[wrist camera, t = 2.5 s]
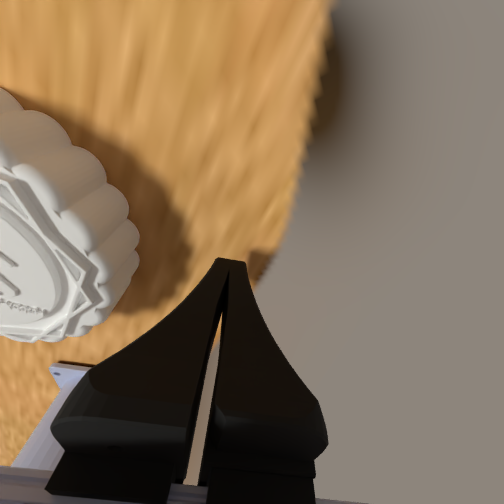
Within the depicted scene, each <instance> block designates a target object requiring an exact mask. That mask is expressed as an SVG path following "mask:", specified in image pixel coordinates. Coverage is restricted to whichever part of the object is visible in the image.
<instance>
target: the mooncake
mask: <svg viewBox="0 0 504 504" xmlns="http://www.w3.org/2000/svg"><path fill="white" fill-rule="evenodd" d="M128 214H129V205H128V202H127V199H126V198H125V196H124V195H123V194H122V192H121V191H119V190H118V189H117V188H116V187H114V186H113V185H111V184H108V183H107V176H106V172H105V169H104V167H103V165H102V164H101V162H100V161H99V160H98V159H97V158H96V157H95V156H94V155H93V154H92V153H91V152H89V151H87V150H86V149H84V148H81V147H78V146H73V145H72V143H71V140H70V138H69V136H68V134H67V132H66V131H65V130H64V128H63V127H62V126H61V125H60V124H59V123H58V122H57V121H56V120H54V119H53V118H51V117H50V116H48V115H46V114H44V113H42V112H39V111H34V110H24V109H23V107H22V106H21V105H20V103H19V102H18V101H17V100H16V99H15V98H14V97H13V96H12V95H11V94H9V93H8V92H7V91H5V90H4V89H2V88H0V335H1V336H6V337H7V338H10V339H12V340H15V341H20V342H31V343H34V342H36V341H37V340H42V341H46V342H59V341H62V340H64V339H65V338H67V336H70V337H79V336H83V335H85V334H87V333H88V332H89V331H90V330H91V329H92V328H93V326H94V325H99V324H101V323H103V322H104V321H105V320H106V319H107V318H108V316H109V315H110V313H111V312H112V310H113V309H114V307H115V306H116V304H117V303H118V301H119V300H120V298H121V297H122V295H123V294H124V292H125V291H126V289H127V287H128V286H129V284H130V282H131V277H132V275H133V274H134V272H135V271H136V269H137V268H138V266H139V263H140V258H139V255H138V253H137V252H136V251H135V248H136V246H137V245H138V243H139V240H140V235H139V231H138V229H137V228H136V226H135V225H134V224H133V223H132V222H131V221H130V220H129V219H127V217H128Z"/></svg>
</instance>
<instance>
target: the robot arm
mask: <svg viewBox="0 0 504 504" xmlns="http://www.w3.org/2000/svg"><path fill="white" fill-rule="evenodd" d="M222 310H223V311H222ZM221 314H222V323H221V336H220V349H219V359H218V367H217V372H216V378H215V385H214V391H213V396H212V402H211V408H210V414H209V420H208V426H207V432H206V438H205V444H204V450H203V456H202V461H201V468H200V473H199V479H198V485H197V486H194V485H184V484H183V481H184V479H185V478H186V474H187V468H188V463H189V458H190V453H191V448H192V442H193V437H194V432H195V427H196V421H197V416H198V410H199V405H200V400H201V395H202V390H203V385H204V380H205V375H206V370H207V364H208V360H209V356H210V352H211V349H212V345H213V342H214V338H215V335H216V331H217V328H218V324H219V321H220V317H221ZM49 370H50V372H51V374H52V376H53V377H54V379H55V381H56V382H57V384H58V386H59V387H60V389H61V390H60V392H59V393H58V395H57V396H56V398H55V399H54V401H53V402H52V404H51V406H50V407H49V409H48V410H47V412H46V413H45V415H44V416H43V418H42V419H41V421H40V422H39V424H38V425H37V427H36V428H35V430H34V431H33V433H32V434H31V436H30V437H29V439H28V440H27V442H26V444H25V445H24V447H23V448H22V450H21V451H20V453H19V454H18V456H17V457H16V459H15V460H14V462H13V463H12V465H11V466H1V465H0V504H367V503H358V502H357V503H356V502H348V501H338V500H328V499H319V498H315V492H314V484H313V479H314V478H315V477H316V473H315V472H316V471H315V464H314V460H315V459H316V458H317V457H318V456H319V455H320V454H321V453H322V452H323V451H324V450H325V449H326V447H327V446H328V435H327V430H326V425H325V422H324V418H323V415H322V412H321V408H320V405H319V402H318V400H317V399H316V398H315V396H314V395H313V394H312V393H311V392H310V390H309V389H308V388H307V387H306V385H305V384H304V383H303V381H302V380H301V379H300V378H299V376H298V375H297V374H296V372H295V371H294V369H293V368H292V367H291V365H290V364H289V362H288V361H287V359H286V358H285V356H284V355H283V353H282V351H281V350H280V348H279V347H278V345H277V344H276V342H275V340H274V338H273V337H272V335H271V333H270V331H269V330H268V327H267V325H266V323H265V321H264V319H263V317H262V315H261V313H260V310H259V308H258V305H257V303H256V300H255V298H254V295H253V292H252V289H251V285H250V282H249V278H248V274H247V268H246V263H245V262H243V261H237V260H231V259H225V258H219V257H218V258H216V259H215V261H214V263H213V265H212V266H211V268H210V269H209V271H208V272H207V274H206V275H205V276H204V277H203V279H202V280H201V281H200V282H199V284H198V285H197V286H196V287H195V288H194V290H193V291H192V292H191V293H190V294H189V295H188V296H187V297H186V298H185V299H184V300H183V301H182V302H181V303H180V304H179V305H178V306H177V307H176V308H175V309H174V310H173V311H172V312H171V313H170V314H168V315H167V316H166V317H165V318H164V319H162V320H161V321H160V322H159V323H158V324H156V325H155V326H154V327H153V328H151V329H150V330H149V331H147V332H146V333H145V334H143V335H142V336H140V337H139V338H138V339H136V340H135V341H133V342H132V343H130V344H129V345H128V346H126V347H125V348H123V349H122V350H120V351H119V352H117V353H115V354H114V355H112V356H110V357H109V358H107V359H105V360H104V361H102V362H101V363H99V364H97V365H96V366H94V367H84V366H77V365H69V364H62V363H52V364H51V366H50V367H49Z"/></svg>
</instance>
